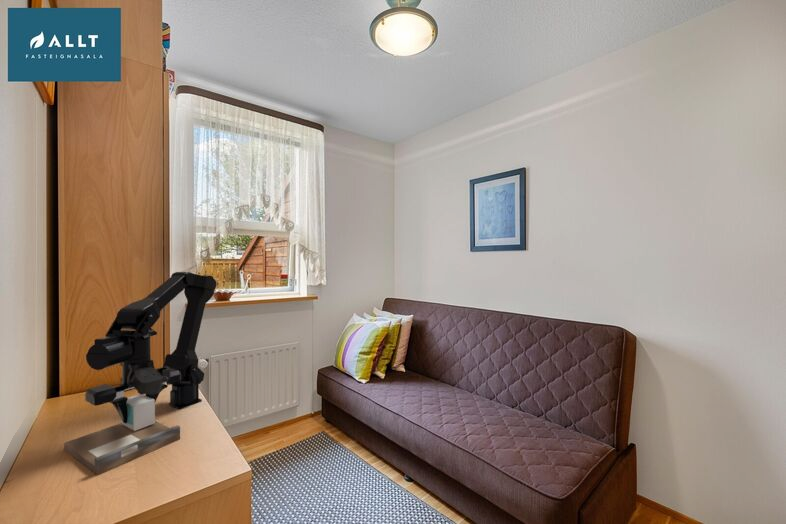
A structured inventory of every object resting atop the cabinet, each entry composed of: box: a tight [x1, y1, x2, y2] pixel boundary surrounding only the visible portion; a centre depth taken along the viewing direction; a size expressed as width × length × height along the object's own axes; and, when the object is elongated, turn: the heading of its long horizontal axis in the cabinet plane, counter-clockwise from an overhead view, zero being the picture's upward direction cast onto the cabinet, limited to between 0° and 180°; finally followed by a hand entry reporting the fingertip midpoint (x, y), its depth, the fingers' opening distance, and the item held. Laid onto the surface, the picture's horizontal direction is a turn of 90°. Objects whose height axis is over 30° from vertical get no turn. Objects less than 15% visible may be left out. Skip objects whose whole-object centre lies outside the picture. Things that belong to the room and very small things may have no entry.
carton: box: [120, 393, 156, 431], centre depth 87 cm, size 5×7×6 cm
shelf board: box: [63, 420, 181, 476], centre depth 81 cm, size 16×18×3 cm
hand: (137, 418), depth 87 cm, fingers closed on carton, 5 cm apart
